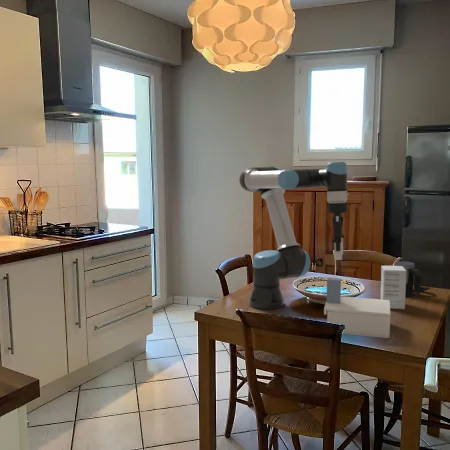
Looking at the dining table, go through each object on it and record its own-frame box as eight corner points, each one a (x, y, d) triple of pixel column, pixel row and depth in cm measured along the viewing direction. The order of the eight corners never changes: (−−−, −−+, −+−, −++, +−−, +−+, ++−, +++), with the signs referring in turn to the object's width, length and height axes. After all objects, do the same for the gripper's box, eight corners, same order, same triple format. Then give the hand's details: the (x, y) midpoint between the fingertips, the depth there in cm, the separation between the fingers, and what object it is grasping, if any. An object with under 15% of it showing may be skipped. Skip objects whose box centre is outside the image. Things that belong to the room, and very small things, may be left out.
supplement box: (405, 309, 199) (406, 270, 197) (382, 308, 201) (383, 270, 199) (401, 302, 208) (403, 265, 206) (379, 301, 210) (381, 264, 208)
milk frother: (388, 294, 221) (390, 263, 219) (404, 287, 232) (405, 258, 230) (418, 300, 211) (420, 268, 209) (433, 293, 222) (434, 262, 220)
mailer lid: (324, 314, 175) (324, 284, 173) (328, 301, 190) (328, 273, 188) (390, 320, 167) (391, 289, 166) (389, 306, 183) (390, 277, 181)
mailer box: (327, 331, 175) (327, 311, 174) (331, 317, 190) (331, 298, 189) (389, 338, 169) (390, 316, 167) (388, 322, 184) (389, 303, 182)
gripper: (347, 203, 168) (348, 262, 170) (348, 200, 192) (349, 252, 194) (325, 204, 170) (327, 262, 172) (329, 201, 194) (330, 252, 196)
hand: (339, 257), depth 183 cm, fingers open, 13 cm apart
